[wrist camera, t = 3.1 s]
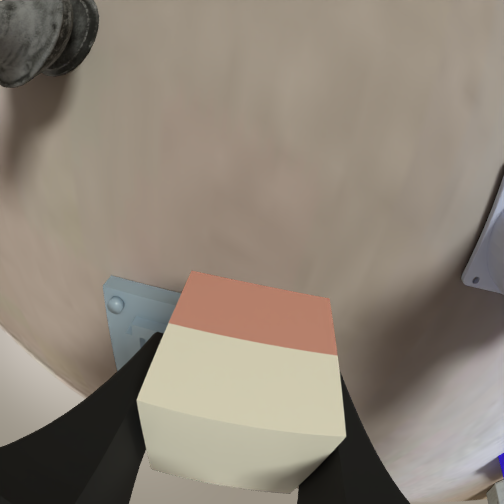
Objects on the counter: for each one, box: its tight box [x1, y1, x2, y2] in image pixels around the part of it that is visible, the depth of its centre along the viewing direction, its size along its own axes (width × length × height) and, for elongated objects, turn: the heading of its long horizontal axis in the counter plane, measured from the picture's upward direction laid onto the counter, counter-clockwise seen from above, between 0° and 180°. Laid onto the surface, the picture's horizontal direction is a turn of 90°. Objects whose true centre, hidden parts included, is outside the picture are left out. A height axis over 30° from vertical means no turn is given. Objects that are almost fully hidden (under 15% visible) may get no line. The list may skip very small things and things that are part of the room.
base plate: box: [103, 275, 181, 371], centre depth 22 cm, size 12×12×2 cm
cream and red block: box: [137, 271, 346, 494], centre depth 9 cm, size 4×4×5 cm
